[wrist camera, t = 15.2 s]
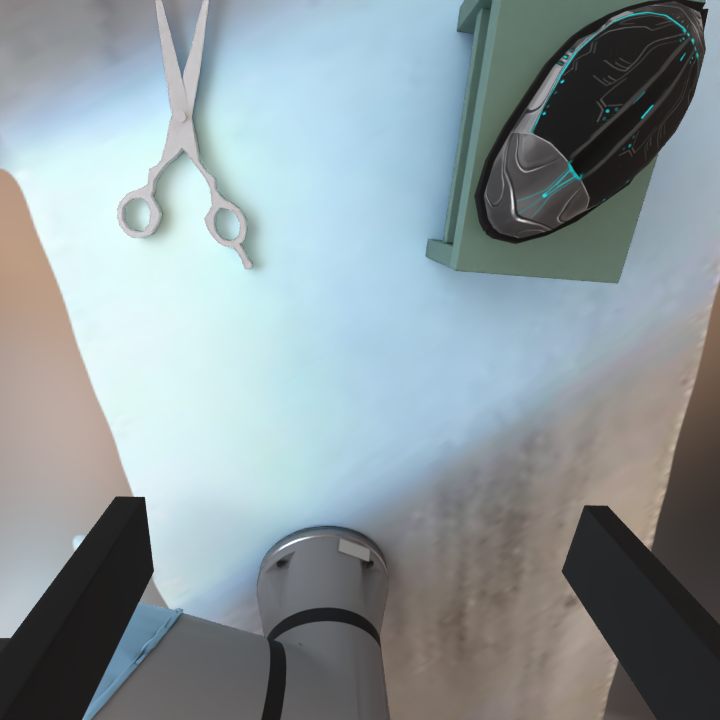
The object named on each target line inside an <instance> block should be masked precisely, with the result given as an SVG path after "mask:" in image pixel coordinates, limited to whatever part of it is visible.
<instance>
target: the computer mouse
mask: <svg viewBox="0 0 720 720" xmlns="http://www.w3.org/2000/svg"><path fill="white" fill-rule="evenodd" d="M704 4H705V3H704V2H697V1H691V0H654V1H647V2H643V3H639V4H635V5H631V6H628V7H625V8H622V9H620V10H617V11H615V12H612V13H609V14H607V15H605V16H604V17H602V18H600V19H598V20H596V21H594V22H592V23H590V24H588V25H586V26H585V27H583V28H582V29H581V30H579V31H578V32H576V33H575V34H574V35H572V36H571V37H570V38H569V39H568V40H567V41H566V42H565V43H564V44H563V45H562V46H561V47H560V48H559V49H558V51H557V52H556V53H555V54H554V55H553V56H552V57H551V58H550V59H549V60H548V61H547V62H546V63H545V65H544V66H543V68H542V69H541V71H540V72H539V74H538V75H537V77H536V78H535V80H534V81H533V83H532V84H531V86H530V87H529V89H528V90H527V92H526V93H525V95H524V96H523V98H522V99H521V101H520V102H519V104H518V105H517V107H516V108H515V110H514V111H513V113H512V114H511V116H510V117H509V119H508V120H507V122H506V123H505V125H504V126H503V128H502V130H501V132H500V134H499V135H498V137H497V139H496V141H495V143H494V145H493V147H492V148H491V150H490V152H489V154H488V156H487V158H486V160H485V162H484V165H483V169H482V172H481V175H480V179H479V182H478V185H477V188H476V192H475V195H474V198H475V203H476V209H477V214H478V220H479V223H480V225H481V227H482V229H483V231H485V232H486V234H487V235H488V236H489V237H491V238H492V239H496V240H500V241H504V242H509V243H513V244H518V243H522V242H526V241H529V240H533V239H537V238H540V237H544V236H547V235H549V234H551V233H554V232H556V231H558V230H560V229H562V228H564V227H566V226H568V225H571V224H573V223H575V222H577V221H578V220H580V219H581V218H583V217H584V216H585V215H587V214H588V213H590V212H591V211H592V210H594V209H595V208H597V207H598V206H600V205H601V204H602V203H604V202H605V201H607V200H608V199H610V198H611V197H612V196H614V195H615V194H617V193H618V192H619V191H621V190H622V189H624V188H625V187H627V186H628V185H629V184H630V183H631V181H632V180H633V179H634V177H635V176H636V175H637V174H638V173H639V172H641V171H642V170H643V169H644V168H645V167H646V166H647V165H649V163H650V162H651V161H652V160H653V158H654V157H655V156H656V155H657V153H658V152H659V151H660V150H661V148H662V147H663V146H664V145H665V144H666V142H667V141H668V140H669V139H670V138H671V136H672V135H673V134H674V133H675V131H676V130H677V128H678V126H679V124H680V123H681V121H682V119H683V117H684V115H685V113H686V111H687V109H688V107H689V105H690V103H691V101H692V98H693V96H694V93H695V89H696V86H697V82H698V78H699V74H700V70H701V66H702V62H703V58H704V54H705V50H706V49H705V41H704V28H705V23H706V18H707V13H708V9H702V8H703V6H704Z"/></svg>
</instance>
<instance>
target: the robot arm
mask: <svg viewBox="0 0 720 720" xmlns="http://www.w3.org/2000/svg"><path fill="white" fill-rule="evenodd" d="M153 572H154V568H153V560H152V552H151V544H150V536H149V528H148V519H147V511H146V503H145V497H115V498H114V500H113V501H112V503H111V504H110V505H109V507H108V508H107V509H106V511H105V512H104V513H103V515H102V516H101V517H100V519H99V520H98V521H97V523H96V524H95V525H94V527H93V528H92V529H91V531H90V532H89V534H88V535H87V536H86V537H85V539H84V540H83V542H82V543H81V544H80V546H79V547H78V548H77V550H76V551H75V552H74V554H73V555H72V557H71V558H70V559H69V560H68V562H67V563H66V564H65V566H64V567H63V569H62V570H61V571H60V573H59V574H58V575H57V577H56V578H55V579H54V581H53V582H52V583H51V585H50V586H49V587H48V589H47V590H46V592H45V593H44V594H43V596H42V597H41V598H40V600H39V601H38V602H37V604H36V605H35V607H34V608H33V609H32V610H31V612H30V613H29V614H28V616H27V617H26V619H25V620H24V621H23V623H22V624H21V625H20V627H19V628H18V629H17V631H16V632H15V633H14V635H13V636H12V637H11V638H0V720H390V715H389V707H388V699H387V691H386V683H385V675H384V667H383V659H382V652H381V644H380V631H381V625H382V620H383V615H384V610H385V605H386V599H387V594H388V583H389V582H388V573H387V567H386V562H385V559H384V557H383V554H382V553H381V551H380V550H379V548H378V547H377V546H376V545H375V544H374V543H373V542H372V541H371V540H369V539H368V538H366V537H365V536H363V535H361V534H359V533H357V532H354V531H352V530H348V529H345V528H340V527H329V526H325V527H313V528H308V529H304V530H300V531H297V532H295V533H293V534H290V535H288V536H286V537H285V538H283V539H282V540H280V541H279V542H277V543H276V544H275V545H274V546H273V547H272V548H271V549H270V550H269V551H268V553H267V554H266V556H265V557H264V559H263V561H262V563H261V566H260V571H259V576H258V581H257V597H258V603H259V609H260V615H261V620H262V626H263V632H264V637H263V636H260V635H256V634H253V633H249V632H246V631H243V630H239V629H236V628H232V627H229V626H225V625H222V624H219V623H215V622H212V621H208V620H205V619H201V618H198V617H195V616H191V615H188V614H184V613H182V612H183V609H180V608H177V609H175V610H173V609H168V608H163V607H159V606H155V605H151V604H147V603H142V602H139V601H140V599H141V597H142V595H143V593H144V590H145V589H146V586H147V584H148V582H149V580H150V578H151V576H152V574H153ZM562 573H563V575H564V576H565V578H566V579H567V581H568V582H569V584H570V585H571V587H572V589H573V590H574V592H575V593H576V595H577V596H578V598H579V599H580V601H581V603H582V604H583V606H584V607H585V609H586V610H587V612H588V613H589V615H590V616H591V618H592V620H593V621H594V623H595V624H596V626H597V627H598V629H599V630H600V632H601V634H602V635H603V637H604V638H605V640H606V641H607V643H608V644H609V646H610V647H611V649H612V651H613V652H614V654H615V655H616V657H617V658H618V660H619V661H620V663H621V664H622V666H623V668H624V669H625V671H626V672H627V674H628V675H629V677H630V678H631V680H632V682H633V683H634V685H635V686H636V687H637V689H638V691H639V692H640V694H641V695H642V697H643V698H644V700H645V702H646V703H647V705H648V706H649V708H650V709H651V711H652V712H653V714H654V716H655V717H656V719H657V720H720V625H719V624H718V623H717V621H716V620H715V619H714V618H713V617H712V616H711V615H710V614H709V613H708V612H707V611H706V610H705V609H704V608H703V607H702V606H701V605H700V603H699V602H698V601H697V600H696V599H695V598H694V597H693V596H692V595H691V594H690V593H689V592H688V591H687V590H686V589H685V588H684V587H683V586H682V584H680V582H679V581H678V580H677V579H676V578H675V577H674V576H673V575H672V574H671V573H670V572H669V571H668V570H667V569H666V567H665V566H664V565H663V564H662V563H661V562H660V561H659V560H658V559H657V558H656V557H655V556H654V555H653V554H652V553H651V552H650V550H649V549H648V548H647V547H646V546H645V545H644V544H643V543H642V542H641V541H640V540H639V539H638V538H637V537H636V536H635V535H634V534H633V532H632V531H631V530H630V529H629V528H628V527H627V526H626V525H625V524H624V523H623V522H622V521H621V520H620V519H619V518H618V517H617V516H616V514H615V513H614V512H613V511H612V510H611V509H610V508H609V507H608V506H589V505H585V506H584V508H583V511H582V514H581V517H580V520H579V523H578V526H577V529H576V532H575V535H574V537H573V540H572V543H571V546H570V549H569V552H568V555H567V558H566V561H565V563H564V566H563V569H562Z"/></svg>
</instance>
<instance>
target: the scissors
mask: <svg viewBox="0 0 720 720" xmlns="http://www.w3.org/2000/svg"><path fill="white" fill-rule="evenodd" d="M155 1H156V9H157V16H158V24H159V32H160V40H161V47H162V55H163V62H164V69H165V75H166V81H167V88H168V94H169V100H170V107H171V112H172V116H171V119H170V123H169V129H168V134H167V140H166V144H165V147H164V151H163V155H162V159H161V161H160V162H159V163H158V164H157V165H156V166H154V167H152V168H151V169H149V177H148V184H147V185H146V186H144V187H142V188H140V189H138V190H136V191H132V192H130V193H128V194H127V195H126V196H125V197H124V198H123V199H122V200H121V201H120V203H119V206H118V208H117V219H118V222H119V225H120V226H121V228H122V229H123V231H124V232H125V233H126V234H127V235H128V236H130V237H133V238H145V237H148V236H150V235H152V234H154V232H155V231H156V229H157V228H158V226H159V224H160V222H161V218H162V214H163V213H162V211H161V209H160V207H159V205H158V204H157V202H156V200H155V198H154V196H153V195H154V194H155V192H156V181H157V179H158V178H159V177H160V175H161V174H162V172H163V171H164V170H165V169H166V167H167V166H168V165H169V164H170V163H171V162H173V161H174V160H175V159H176V158H177V157H178V156H179V155H180V154H181V153H182V152H183V151H185V152H186V153H187V155H188V156H189V157H190V159H191V160H192V162H193V163H194V164H195V166H196V167H197V168H198V169H199V171H200V172H201V173H202V175H203V176H204V178H205V179H206V181H207V183H208V185H209V187H210V190H211V201H212V206H211V208H210V211H209V212H208V214H207V215H206V217H205V218H204V220H205V223H206V226H207V229H208V231H209V232H210V234H211V235H212V236H213V238H214V239H215V240H216V241H217V242H218V243H219V244H222V245H224V246H228V247H234V248H235V250H236V251H237V253H238V254H239V256H240V257H241V259H242V263H243V265H244V268H245V269H250V268H252V267H253V262H252V261H251V260H250V259H249V258H248V256H247V254H246V252H245V250H244V248H243V246H242V245H241V243H242V242H243V241H245V237H246V234H247V230H248V229H247V221H246V217H245V216H244V214H243V213H242V211H241V210H240V209H239V208H238V207H237V206H236V205H234V204H233V203H231V202H229V201H227V200H225V199H224V198H223V196H222V195H221V194H220V193H219V192H218V190H217V184H216V178H215V177H214V176H213V175H211V174H210V173H209V172H208V171H207V170H206V169H205V167H204V166H203V165H202V163H201V160H200V154H199V148H198V143H197V138H196V133H195V129H194V125H193V121H192V116H193V110H194V104H195V99H196V93H197V87H198V82H199V76H200V70H201V63H202V56H203V48H204V39H205V31H206V23H207V16H208V9H209V2H210V0H203V4H202V7H201V11H200V15H199V18H198V22H197V26H196V29H195V34H194V38H193V42H192V46H191V50H190V53H189V57H188V60H187V63H186V67H185V70H184V73H183V81H182V77H181V73H180V69H179V65H178V61H177V57H176V53H175V49H174V45H173V42H172V38H171V34H170V30H169V27H168V23H167V19H166V15H165V12H164V8H163V4H162V1H161V0H155ZM135 198H142V199H143V200H145V201H146V202H147V204H148V207H149V209H150V219H149V224H148V226H147V227H146V229H145V230H144V231H143V232H141V231H136V230H133V229H132V228H131V227H130V226H129V224H128V222H127V220H126V207H127V206H128V205H129V204H130V203H131V202H132V200H134V199H135ZM221 208H224V209H230V210H232V211H233V213H234V214H235V215H236V216H237V218H238V220H239V225H240V231H239V236H238V237H237V238H236V239H235V240H233V241H231V240H226V239H224V238H222V237H221V236H220V234H219V233H218V231H217V228H216V222H215V221H216V214H217V213H218V212H219V211H220V209H221Z"/></svg>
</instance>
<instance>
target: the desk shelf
mask: <svg viewBox="0 0 720 720" xmlns="http://www.w3.org/2000/svg"><path fill="white" fill-rule="evenodd" d="M647 1H654V0H464V2H463V3H462V5H461V7H460V12H459V19H458V26H457V31H460V32H467V33H474V39H473V46H472V52H471V59H470V65H469V72H468V79H467V85H466V92H465V98H464V105H463V112H462V118H461V125H460V131H459V138H458V145H457V151H456V158H455V164H454V171H453V178H452V184H451V191H450V197H449V204H448V211H447V217H446V224H445V230H444V237H443V240H433V239H428V242H427V250H426V257H428V258H430V259H432V260H434V261H437V262H439V263H441V264H443V265H445V266H447V267H449V268H451V269H453V270H456V271H466V272H478V273H491V274H504V275H516V276H529V277H542V278H554V279H567V280H580V281H592V282H605V283H618V282H619V279H620V276H621V273H622V269H623V266H624V263H625V260H626V256H627V253H628V250H629V247H630V243H631V240H632V237H633V234H634V230H635V227H636V224H637V221H638V217H639V214H640V211H641V208H642V204H643V201H644V198H645V195H646V191H647V188H648V185H649V182H650V179H651V175H652V172H653V169H654V166H655V162H656V159H657V156H658V153H659V152H658V153H657V155H656V156H655V157H654V158H653V160H652V161H651V162H650V163H649V165H647V166H646V167H645V168H644V169H643V170H642V171H641V172H639V173H638V174H637V175H636V176H635V177H634V179H633V180H632V181H631V183H630V184H629V185H628V186H627V187H625V188H624V189H622V190H621V191H619V192H618V193H617V194H615V195H614V196H612V197H611V198H610V199H608V200H607V201H605V202H604V203H602V204H601V205H600V206H598V207H597V208H595V209H594V210H592V211H591V212H590V213H588V214H587V215H585V216H584V217H583V218H581V219H580V220H578V221H577V222H575V223H573V224H571V225H568V226H566V227H564V228H562V229H560V230H558V231H556V232H554V233H551V234H549V235H547V236H544V237H540V238H537V239H533V240H529V241H526V242H522V243H518V244H513V243H509V242H504V241H500V240H496V239H492V238H491V237H489V236H488V235H487V234H486V232H485V231H483V229H482V227H481V225H480V223H479V220H478V214H477V209H476V203H475V198H474V195H475V192H476V188H477V185H478V182H479V179H480V175H481V172H482V169H483V165H484V162H485V160H486V158H487V156H488V154H489V152H490V150H491V148H492V147H493V145H494V143H495V141H496V139H497V137H498V135H499V134H500V132H501V130H502V128H503V126H504V125H505V123H506V122H507V120H508V119H509V117H510V116H511V114H512V113H513V111H514V110H515V108H516V107H517V105H518V104H519V102H520V101H521V99H522V98H523V96H524V95H525V93H526V92H527V90H528V89H529V87H530V86H531V84H532V83H533V81H534V80H535V78H536V77H537V75H538V74H539V72H540V71H541V69H542V68H543V66H544V65H545V63H546V62H547V61H548V60H549V59H550V58H551V57H552V56H553V55H554V54H555V53H556V52H557V51H558V49H559V48H560V47H561V46H562V45H563V44H564V43H565V42H566V41H567V40H568V39H569V38H570V37H571V36H572V35H574V34H575V33H576V32H578V31H579V30H581V29H582V28H583V27H585V26H586V25H588V24H590V23H592V22H594V21H596V20H598V19H600V18H602V17H604V16H605V15H607V14H609V13H612V12H615V11H617V10H620V9H622V8H625V7H628V6H631V5H635V4H639V3H643V2H647ZM691 1H697V2H704V3H705V0H691ZM703 7H704V6H703ZM702 9H703V8H702Z"/></svg>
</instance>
